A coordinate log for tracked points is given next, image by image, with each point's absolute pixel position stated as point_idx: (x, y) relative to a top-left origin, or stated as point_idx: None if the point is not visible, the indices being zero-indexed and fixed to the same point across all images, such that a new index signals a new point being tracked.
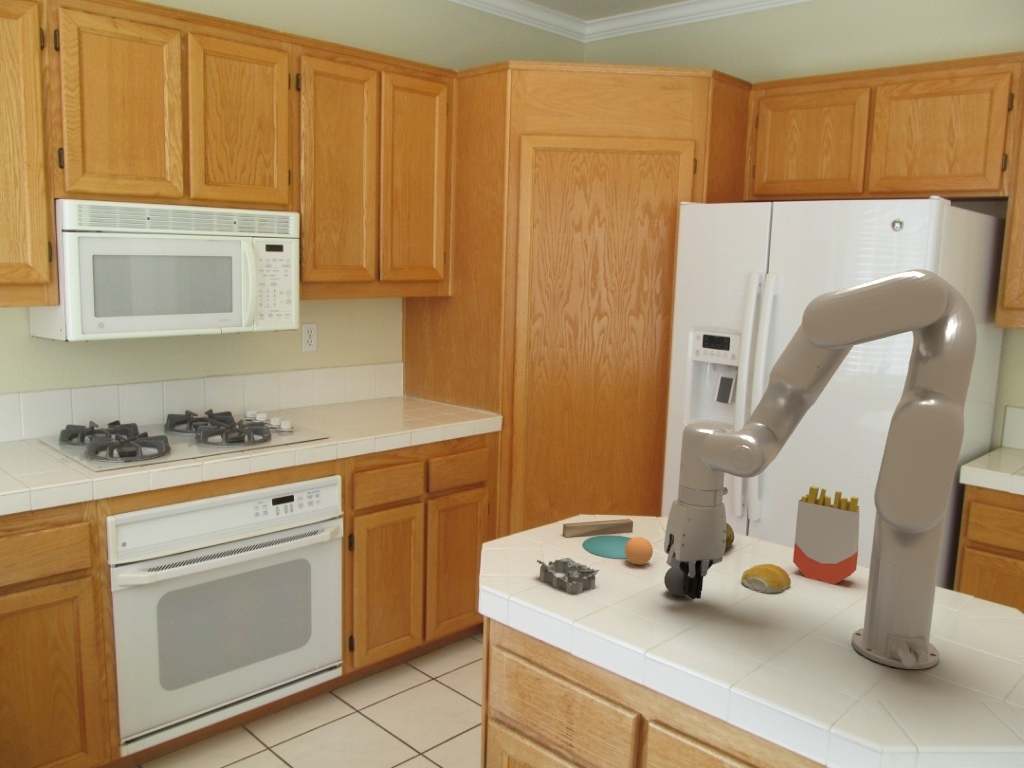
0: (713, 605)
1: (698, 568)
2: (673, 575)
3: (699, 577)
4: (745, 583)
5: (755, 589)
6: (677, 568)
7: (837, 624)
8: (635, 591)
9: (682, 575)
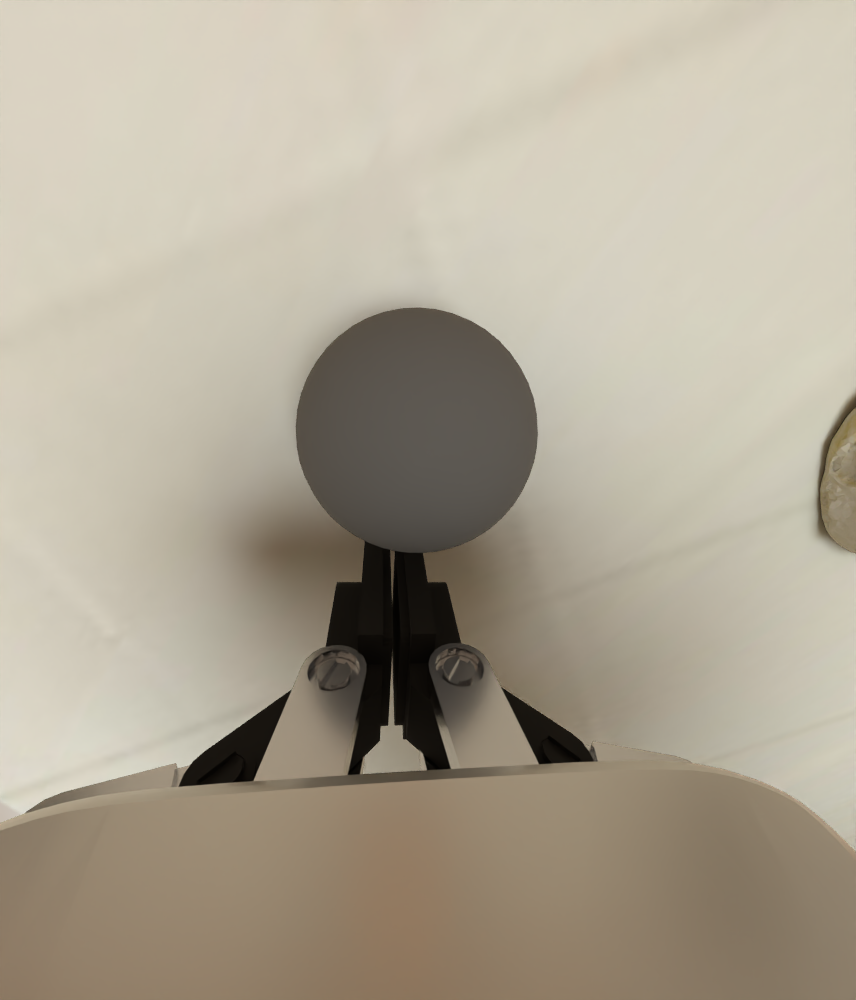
0: (498, 570)
1: (436, 741)
2: (321, 499)
3: (403, 733)
4: (849, 441)
5: (826, 492)
6: (376, 493)
7: (749, 766)
8: (138, 240)
9: (383, 543)
